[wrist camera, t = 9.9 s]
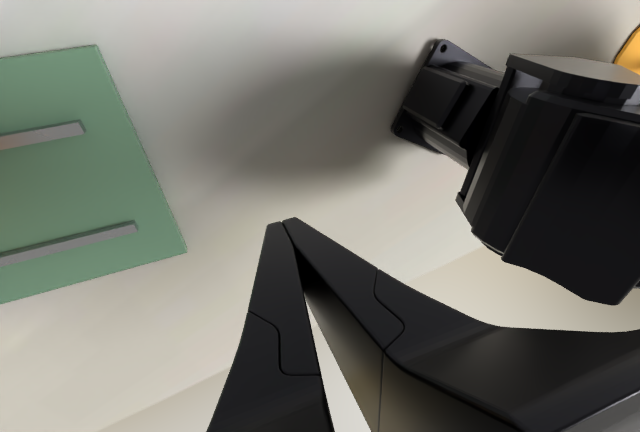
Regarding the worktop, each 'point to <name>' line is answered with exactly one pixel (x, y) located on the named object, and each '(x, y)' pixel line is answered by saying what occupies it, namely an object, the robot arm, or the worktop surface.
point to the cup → (630, 53)
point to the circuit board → (74, 175)
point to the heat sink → (67, 242)
